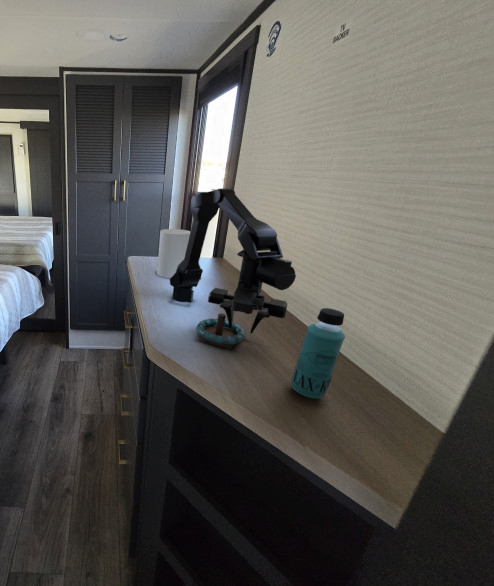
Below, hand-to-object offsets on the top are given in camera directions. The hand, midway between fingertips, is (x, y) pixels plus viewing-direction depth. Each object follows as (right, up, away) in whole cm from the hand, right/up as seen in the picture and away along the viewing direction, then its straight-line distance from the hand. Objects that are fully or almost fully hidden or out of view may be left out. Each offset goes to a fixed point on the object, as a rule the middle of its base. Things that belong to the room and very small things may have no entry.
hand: (240, 330), depth 86 cm
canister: (-6, +19, +61) cm, 64 cm away
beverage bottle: (+6, -12, -18) cm, 23 cm away
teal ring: (-4, -1, +3) cm, 5 cm away
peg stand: (-5, -3, +4) cm, 7 cm away
